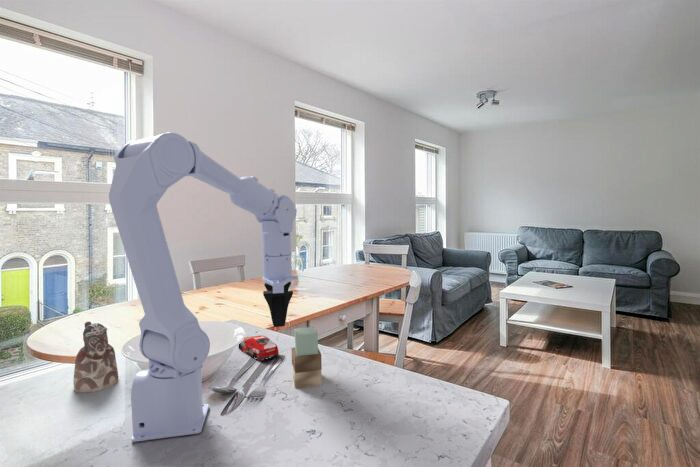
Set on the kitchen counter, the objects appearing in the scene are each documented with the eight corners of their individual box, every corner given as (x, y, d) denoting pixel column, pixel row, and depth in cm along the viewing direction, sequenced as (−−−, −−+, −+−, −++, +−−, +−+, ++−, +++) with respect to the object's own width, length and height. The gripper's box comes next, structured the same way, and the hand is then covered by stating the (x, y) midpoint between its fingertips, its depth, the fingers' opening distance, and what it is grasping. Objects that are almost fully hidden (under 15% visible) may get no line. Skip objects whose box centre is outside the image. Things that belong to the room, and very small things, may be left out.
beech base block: (294, 388, 69) (294, 373, 69) (293, 376, 74) (292, 362, 74) (321, 385, 70) (321, 370, 70) (318, 374, 75) (317, 359, 75)
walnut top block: (295, 373, 69) (294, 357, 69) (291, 362, 74) (291, 347, 74) (321, 369, 71) (321, 354, 70) (316, 359, 75) (316, 344, 75)
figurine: (79, 397, 67) (75, 331, 66) (69, 385, 72) (65, 324, 71) (123, 382, 72) (120, 322, 72) (111, 372, 77) (107, 315, 76)
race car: (235, 348, 90) (234, 332, 90) (256, 343, 94) (255, 327, 94) (259, 365, 80) (258, 347, 80) (281, 358, 84) (281, 341, 83)
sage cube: (296, 356, 70) (296, 335, 69) (295, 348, 73) (294, 328, 73) (318, 353, 70) (317, 333, 70) (315, 346, 74) (314, 326, 74)
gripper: (299, 258, 69) (301, 330, 70) (294, 250, 83) (296, 309, 84) (260, 260, 68) (262, 333, 69) (262, 251, 82) (264, 312, 83)
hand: (278, 320), depth 76 cm, fingers open, 7 cm apart
